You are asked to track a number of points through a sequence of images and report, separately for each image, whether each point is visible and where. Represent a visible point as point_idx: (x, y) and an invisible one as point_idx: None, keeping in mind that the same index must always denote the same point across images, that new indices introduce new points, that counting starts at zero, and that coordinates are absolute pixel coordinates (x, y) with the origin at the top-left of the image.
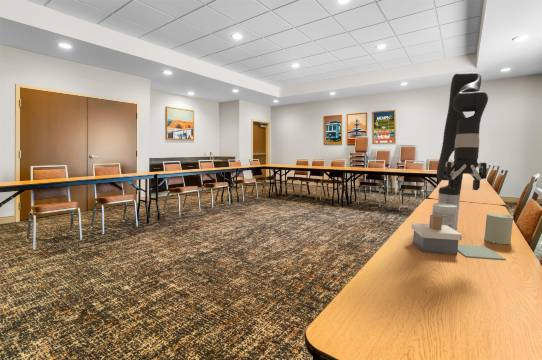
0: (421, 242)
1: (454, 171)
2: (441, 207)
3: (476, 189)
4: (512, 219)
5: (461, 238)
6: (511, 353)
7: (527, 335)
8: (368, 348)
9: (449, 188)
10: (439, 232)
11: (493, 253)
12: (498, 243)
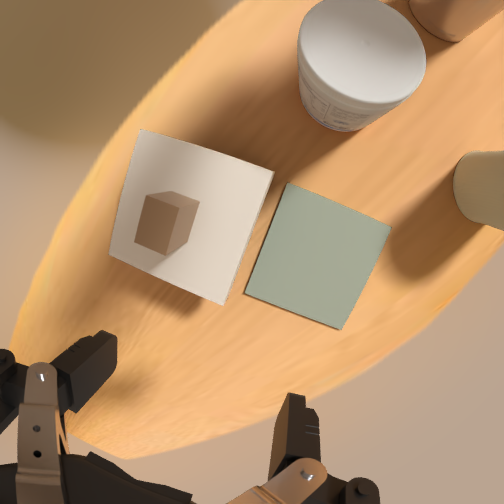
0: None
1: (37, 435)
2: (310, 72)
3: (275, 426)
4: None
5: (226, 299)
6: (107, 451)
7: (134, 453)
8: None
9: (102, 332)
10: (157, 270)
11: (351, 290)
12: (461, 211)
